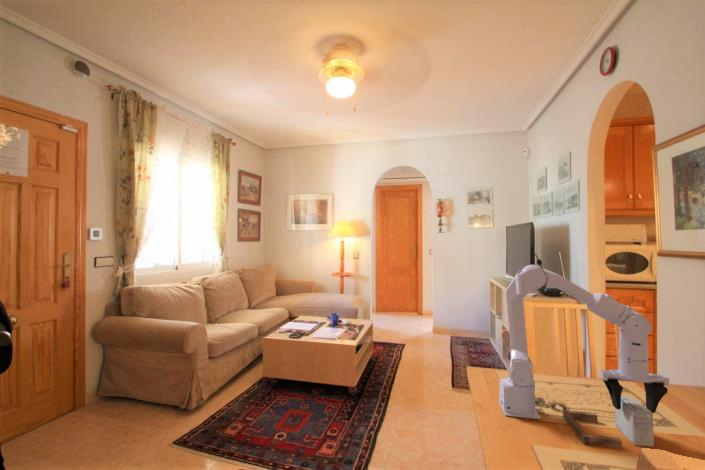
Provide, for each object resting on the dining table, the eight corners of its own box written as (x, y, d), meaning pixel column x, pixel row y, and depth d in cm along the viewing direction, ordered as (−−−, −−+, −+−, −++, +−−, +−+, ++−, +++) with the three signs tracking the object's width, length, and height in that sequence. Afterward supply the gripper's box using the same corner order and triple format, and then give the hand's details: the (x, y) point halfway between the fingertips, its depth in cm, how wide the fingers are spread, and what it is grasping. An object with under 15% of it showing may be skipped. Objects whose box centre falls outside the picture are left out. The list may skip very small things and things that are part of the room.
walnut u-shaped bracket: (584, 444, 79) (584, 436, 79) (562, 416, 91) (562, 409, 91) (622, 449, 77) (621, 441, 77) (595, 420, 89) (595, 413, 89)
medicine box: (654, 448, 77) (654, 413, 77) (633, 445, 78) (633, 410, 78) (633, 428, 85) (633, 396, 85) (614, 426, 86) (614, 395, 86)
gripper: (655, 353, 84) (655, 404, 84) (593, 349, 87) (593, 398, 87) (675, 364, 77) (675, 419, 77) (607, 359, 80) (608, 412, 80)
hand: (633, 409), depth 82 cm, fingers open, 7 cm apart
